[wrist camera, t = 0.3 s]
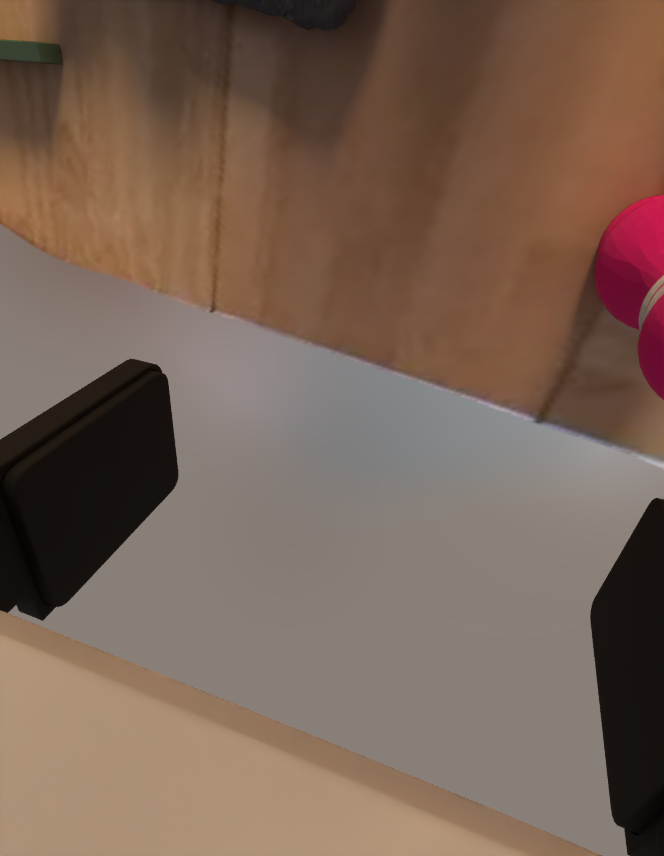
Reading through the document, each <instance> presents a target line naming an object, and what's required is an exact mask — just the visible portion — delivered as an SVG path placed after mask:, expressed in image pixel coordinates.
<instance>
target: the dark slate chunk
mask: <svg viewBox="0 0 664 856" xmlns="http://www.w3.org/2000/svg"><path fill="white" fill-rule="evenodd" d="M212 1H215V2H218V3H221V4H232V5H236V4H237V3H239V4H240V5H242V6H243V7H245V8H247V9H252V10H257V11H261V12H262V13H264V14H268V15H278V16H282V17H284V18H286V19H288V20H289V21H291V22H292V23H294V24H296V25H298V26H300V27H302V28H305V29H309V30H310V29H314V28H319V29H321V30H331V29H336V28H338V27H339V26H341V25H342V24H343V23H344V22H345V20H346V19H347V17H348V15H349V14H350V12H351V11H352V9H353V8H354V6H355V4H356V1H357V0H212Z"/></svg>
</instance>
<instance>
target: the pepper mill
mask: <svg viewBox="0 0 664 856" xmlns="http://www.w3.org/2000/svg"><path fill="white" fill-rule="evenodd" d="M595 285H596V289H597V292H598V295H599V297H600V299H601V301H602V302H603V304H604V305H605V306H606V308H607V309H608V311H609V312H610V313H611V314H612V315H613V316H614V317H615V318H616V319H618V320H619V321H621V322H623V323H625V324H626V325H628V326H630V327H633V328H636V329H639V330H640V336H639V341H638V356H639V363H640V367H641V370H642V372H643V374H644V377H645V378H646V380H647V382H648V383H649V385H650V387H651V388H652V389H653V390H654V391H655V392H656V394H657V395H658V396H659V397H661V398H662V399H663V400H664V195H658V196H653V197H649V198H646V199H643V200H640V201H638V202H636V203H634V204H632V205H631V206H629V207H628V208H626V209H625V210H624V211H622V212H621V213H620V214H618V215H617V216H616V217H615V218H614V220H613V221H612V222H611V223H610V225H609V226H608V228H607V229H606V230H605V232H604V234H603V236H602V238H601V241H600V243H599V247H598V253H597V260H596V265H595Z"/></svg>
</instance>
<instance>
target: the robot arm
mask: <svg viewBox="0 0 664 856" xmlns="http://www.w3.org/2000/svg"><path fill="white" fill-rule="evenodd" d="M177 480H178V465H177V456H176V448H175V439H174V430H173V421H172V412H171V403H170V394H169V385H168V379H167V377H166V375H165V374H163V373H162V370H161V369H160V367H159V366H158V365H156V364H152V363H148V362H143V361H139V360H135V359H129V360H126V361H125V362H123V363H122V364H120V365H118V366H117V367H115V368H114V369H112V370H110V371H109V372H107V373H106V374H104V375H102V376H101V377H99V378H98V379H96V380H95V381H93V382H91V383H90V384H88V385H87V386H85V387H84V388H82V389H81V390H79V391H77V392H75V393H74V394H72V395H71V396H69V397H67V398H66V399H64V400H63V401H61V402H59V403H58V404H56V405H55V406H53V407H52V408H50V409H48V410H47V411H45V412H43V413H42V414H40V415H39V416H37V417H36V418H34V419H32V420H31V421H29V422H28V423H26V424H24V425H23V426H21V427H20V428H18V429H16V430H15V431H13V432H12V433H10V434H8V435H7V436H5V437H4V438H2V439H1V440H0V856H602V855H599V854H597V853H595V852H592V851H590V850H588V849H585V848H583V847H580V846H578V845H576V844H573V843H571V842H569V841H566V840H564V839H562V838H560V837H557V836H555V835H553V834H550V833H548V832H546V831H543V830H541V829H538V828H536V827H534V826H532V825H529V824H527V823H525V822H522V821H520V820H518V819H515V818H513V817H510V816H508V815H506V814H503V813H501V812H498V811H496V810H493V809H491V808H489V807H486V806H483V805H481V804H479V803H477V802H474V801H472V800H469V799H466V798H464V797H462V796H459V795H457V794H454V793H452V792H450V791H447V790H445V789H442V788H440V787H437V786H435V785H433V784H430V783H427V782H425V781H423V780H420V779H418V778H415V777H413V776H411V775H408V774H406V773H403V772H401V771H398V770H396V769H393V768H391V767H389V766H386V765H384V764H381V763H379V762H376V761H374V760H371V759H369V758H366V757H364V756H362V755H359V754H357V753H354V752H352V751H350V750H347V749H345V748H342V747H340V746H337V745H335V744H332V743H330V742H328V741H325V740H323V739H320V738H318V737H315V736H312V735H310V734H307V733H305V732H303V731H300V730H298V729H295V728H293V727H290V726H288V725H285V724H283V723H280V722H278V721H275V720H273V719H271V718H268V717H266V716H263V715H261V714H258V713H256V712H253V711H251V710H248V709H246V708H243V707H241V706H239V705H236V704H234V703H231V702H229V701H226V700H224V699H221V698H219V697H216V696H214V695H211V694H209V693H206V692H204V691H201V690H199V689H196V688H194V687H191V686H189V685H186V684H184V683H181V682H179V681H176V680H174V679H172V678H169V677H167V676H164V675H161V674H159V673H157V672H154V671H152V670H149V669H147V668H144V667H142V666H139V665H137V664H134V663H132V662H129V661H127V660H124V659H122V658H119V657H117V656H114V655H112V654H109V653H106V652H104V651H102V650H99V649H96V648H94V647H91V646H89V645H86V644H84V643H81V642H79V641H76V640H74V639H71V638H69V637H66V636H64V635H61V634H59V633H56V632H54V631H51V630H49V629H46V628H44V627H41V626H39V625H36V624H34V623H31V622H28V621H26V620H23V619H21V618H18V617H16V616H13V615H11V614H8V612H9V611H10V610H11V609H12V608H13V607H14V606H15V605H17V607H18V610H19V611H20V612H23V613H25V614H27V615H30V616H32V617H35V618H37V619H40V620H44V619H45V618H46V617H47V616H48V615H49V614H50V613H51V612H52V611H53V609H54V608H55V607H59V606H62V605H64V604H65V603H67V602H68V601H69V600H70V599H71V598H72V597H73V596H74V595H75V594H76V593H77V592H78V590H79V589H80V588H81V587H82V586H83V585H84V584H85V583H86V582H87V581H88V580H89V579H90V578H91V577H92V576H93V574H94V573H95V572H96V571H97V570H98V569H99V568H100V567H101V566H102V565H103V564H104V563H105V562H106V561H107V560H108V559H109V557H110V556H111V555H112V554H113V553H114V552H115V551H116V550H117V549H118V548H119V547H120V546H121V545H122V544H123V542H124V541H125V540H126V539H127V538H128V537H129V536H130V535H131V534H132V533H133V532H134V531H135V530H136V529H137V528H138V526H139V525H140V524H141V523H142V522H143V521H144V520H145V519H146V518H147V517H148V516H149V515H150V514H151V513H152V512H153V511H154V509H155V508H156V507H157V506H158V505H159V504H160V503H161V502H162V501H163V500H164V499H165V498H166V497H167V496H168V494H170V492H171V491H172V490H173V489H174V487H175V485H176V483H177ZM590 619H591V629H592V638H593V648H594V657H595V666H596V675H597V684H598V694H599V703H600V712H601V721H602V730H603V739H604V749H605V758H606V767H607V776H608V784H609V795H610V804H611V811H612V816H613V819H614V822H615V823H616V824H617V825H618V826H621V827H623V828H624V829H625V838H626V846H627V854H628V855H630V856H664V499H659V498H655V499H653V500H652V501H651V502H650V504H649V505H648V507H647V509H646V511H645V512H644V514H643V516H642V518H641V519H640V521H639V523H638V524H637V526H636V528H635V530H634V531H633V533H632V535H631V537H630V538H629V540H628V542H627V543H626V545H625V547H624V549H623V550H622V552H621V554H620V555H619V557H618V559H617V561H616V562H615V564H614V566H613V568H612V569H611V571H610V573H609V574H608V576H607V578H606V580H605V581H604V583H603V585H602V586H601V588H600V590H599V592H598V593H597V595H596V597H595V599H594V601H593V604H592V608H591V617H590Z"/></svg>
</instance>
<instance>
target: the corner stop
mask: <svg viewBox="0 0 664 856" xmlns="http://www.w3.org/2000/svg"><path fill="white" fill-rule="evenodd" d="M0 60H5V61H19V62H33V63H47V64H60V65H62V64H63V62H62V57H61V52H60V46H59V45H58V44H50V43H42V42H32V41H16V40H0Z"/></svg>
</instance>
